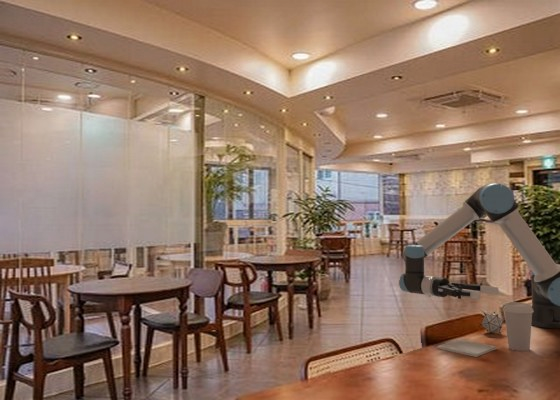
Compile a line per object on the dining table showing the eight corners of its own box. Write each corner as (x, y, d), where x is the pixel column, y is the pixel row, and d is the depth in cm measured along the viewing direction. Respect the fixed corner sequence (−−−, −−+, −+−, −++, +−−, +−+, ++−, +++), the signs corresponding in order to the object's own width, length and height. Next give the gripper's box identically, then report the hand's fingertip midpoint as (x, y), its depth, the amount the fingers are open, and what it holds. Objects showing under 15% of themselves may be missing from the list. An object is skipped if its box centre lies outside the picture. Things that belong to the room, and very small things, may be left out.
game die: (498, 343, 186) (509, 326, 181) (475, 335, 188) (486, 317, 182) (497, 327, 194) (508, 310, 188) (476, 319, 195) (486, 302, 190)
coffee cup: (528, 344, 171) (526, 301, 171) (539, 352, 161) (538, 307, 162) (499, 344, 172) (498, 301, 172) (509, 352, 162) (508, 307, 163)
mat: (458, 341, 177) (458, 338, 177) (496, 348, 166) (496, 346, 166) (437, 348, 168) (437, 346, 168) (476, 357, 157) (476, 354, 157)
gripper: (453, 292, 199) (505, 299, 183) (418, 299, 182) (471, 308, 166) (452, 274, 199) (504, 279, 183) (417, 279, 183) (471, 286, 166)
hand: (489, 293), depth 174 cm, fingers open, 13 cm apart
